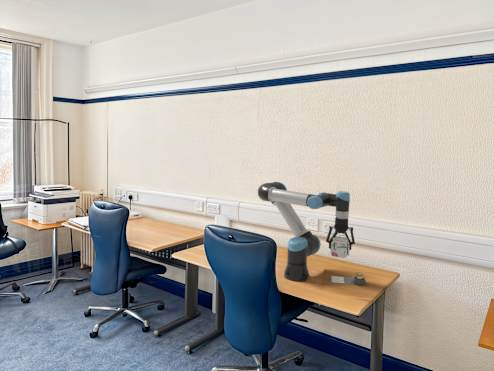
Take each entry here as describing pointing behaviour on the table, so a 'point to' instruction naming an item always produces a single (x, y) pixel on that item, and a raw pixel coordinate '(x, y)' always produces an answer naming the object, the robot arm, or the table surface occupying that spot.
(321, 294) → the table surface
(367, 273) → the table surface
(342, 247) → the ink box
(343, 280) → the board
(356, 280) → the button housing
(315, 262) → the table surface
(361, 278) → the button
